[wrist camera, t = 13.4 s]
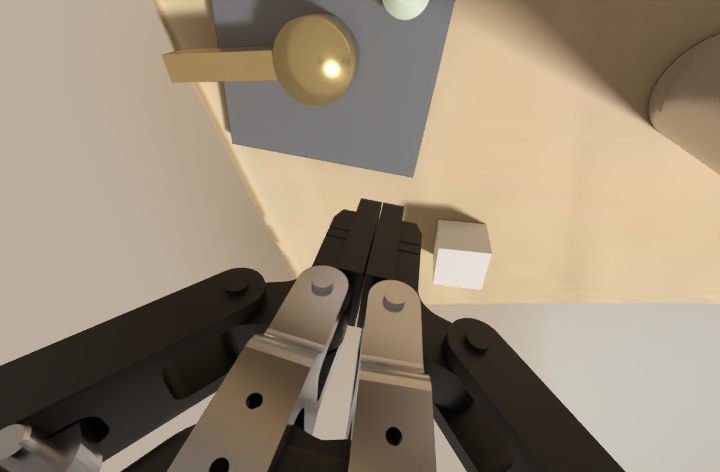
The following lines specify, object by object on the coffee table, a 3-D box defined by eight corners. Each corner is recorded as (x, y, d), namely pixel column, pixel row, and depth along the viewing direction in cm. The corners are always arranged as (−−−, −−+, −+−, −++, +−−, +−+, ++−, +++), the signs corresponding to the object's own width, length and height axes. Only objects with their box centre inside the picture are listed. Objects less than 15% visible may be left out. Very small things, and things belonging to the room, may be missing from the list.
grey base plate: (473, -85, 25) (479, -95, 22) (414, 169, 39) (411, 188, 36) (207, -117, 27) (172, -132, 24) (240, 137, 41) (221, 152, 37)
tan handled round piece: (356, 10, 29) (346, 14, 26) (361, 94, 33) (353, 106, 30) (177, 21, 32) (149, 25, 29) (202, 96, 36) (180, 107, 33)
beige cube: (433, 253, 47) (432, 284, 42) (438, 219, 43) (438, 248, 38) (477, 258, 46) (481, 290, 41) (486, 223, 42) (492, 253, 37)
